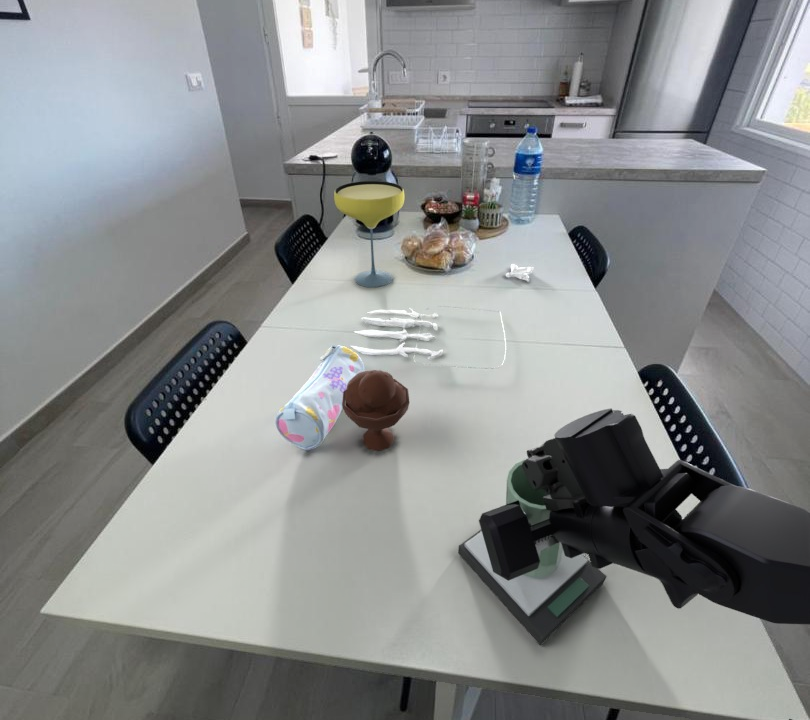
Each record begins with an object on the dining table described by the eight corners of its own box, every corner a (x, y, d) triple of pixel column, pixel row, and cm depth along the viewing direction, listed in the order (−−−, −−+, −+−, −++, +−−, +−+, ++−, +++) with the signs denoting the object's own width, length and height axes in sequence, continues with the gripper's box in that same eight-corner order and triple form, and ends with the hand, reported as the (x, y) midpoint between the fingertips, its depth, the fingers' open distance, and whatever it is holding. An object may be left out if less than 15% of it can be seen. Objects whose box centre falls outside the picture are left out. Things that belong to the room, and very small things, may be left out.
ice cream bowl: (421, 430, 79) (422, 362, 70) (385, 473, 71) (382, 401, 62) (371, 409, 83) (367, 342, 74) (333, 447, 76) (323, 377, 67)
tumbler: (570, 548, 57) (583, 477, 49) (543, 589, 53) (552, 520, 45) (522, 518, 61) (527, 449, 53) (494, 555, 57) (495, 486, 49)
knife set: (366, 303, 116) (366, 299, 116) (502, 311, 112) (503, 307, 112) (342, 360, 96) (341, 356, 95) (507, 372, 92) (508, 368, 91)
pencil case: (328, 376, 92) (323, 337, 86) (368, 383, 90) (365, 344, 84) (277, 449, 75) (266, 407, 70) (324, 460, 73) (317, 417, 68)
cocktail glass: (342, 267, 135) (334, 181, 121) (401, 264, 137) (401, 179, 122) (341, 295, 121) (332, 201, 106) (408, 291, 122) (408, 198, 108)
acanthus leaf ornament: (510, 268, 135) (511, 262, 134) (533, 271, 133) (534, 265, 131) (504, 277, 129) (505, 271, 128) (528, 281, 127) (529, 275, 126)
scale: (603, 583, 56) (608, 573, 55) (540, 645, 51) (544, 636, 49) (519, 507, 66) (521, 497, 64) (457, 553, 60) (459, 542, 58)
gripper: (668, 414, 43) (570, 423, 58) (500, 469, 38) (440, 464, 52) (708, 530, 42) (598, 509, 56) (539, 605, 36) (466, 560, 51)
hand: (528, 507), depth 54 cm, fingers closed on tumbler, 7 cm apart
